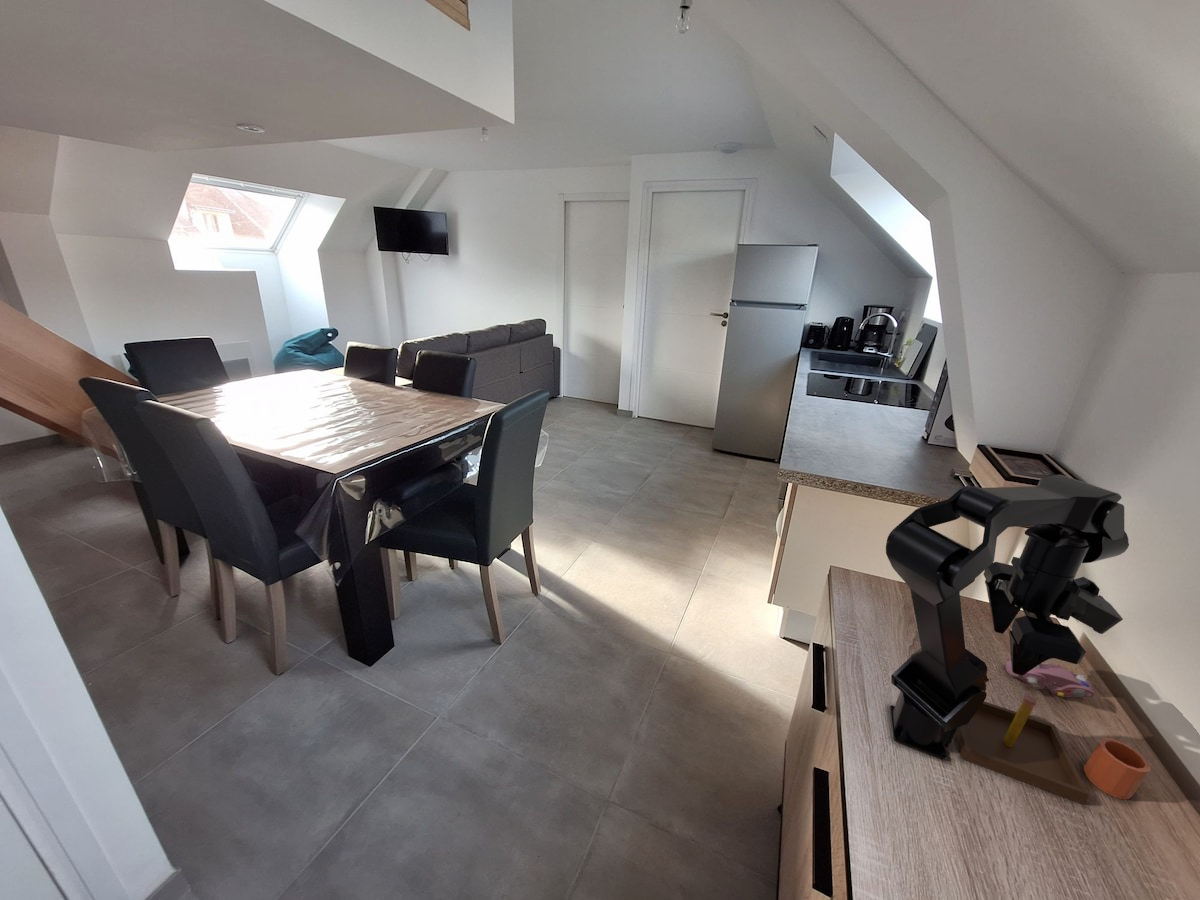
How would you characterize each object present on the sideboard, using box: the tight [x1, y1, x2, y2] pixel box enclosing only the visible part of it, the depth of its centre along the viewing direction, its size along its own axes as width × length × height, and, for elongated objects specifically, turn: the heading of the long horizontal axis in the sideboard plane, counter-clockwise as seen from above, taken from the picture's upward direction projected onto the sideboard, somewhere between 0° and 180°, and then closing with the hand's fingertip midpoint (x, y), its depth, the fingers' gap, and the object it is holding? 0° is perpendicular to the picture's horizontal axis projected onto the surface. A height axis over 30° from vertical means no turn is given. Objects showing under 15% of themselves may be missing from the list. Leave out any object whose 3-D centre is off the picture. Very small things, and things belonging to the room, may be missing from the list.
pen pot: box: [1083, 737, 1152, 800], centre depth 62 cm, size 5×5×6 cm
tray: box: [954, 701, 1090, 805], centre depth 67 cm, size 13×11×2 cm
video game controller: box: [1005, 659, 1095, 699], centre depth 76 cm, size 10×5×7 cm, turn 65°
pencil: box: [1003, 694, 1037, 747], centre depth 65 cm, size 1×1×9 cm
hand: (1007, 651), depth 68 cm, fingers open, 9 cm apart
